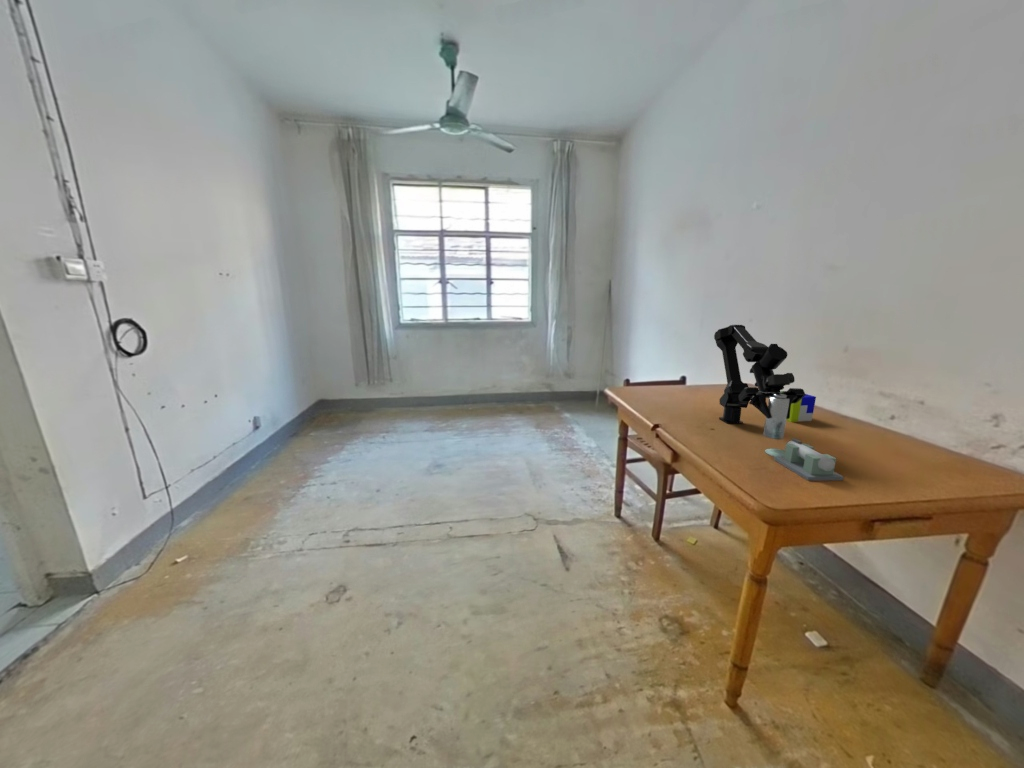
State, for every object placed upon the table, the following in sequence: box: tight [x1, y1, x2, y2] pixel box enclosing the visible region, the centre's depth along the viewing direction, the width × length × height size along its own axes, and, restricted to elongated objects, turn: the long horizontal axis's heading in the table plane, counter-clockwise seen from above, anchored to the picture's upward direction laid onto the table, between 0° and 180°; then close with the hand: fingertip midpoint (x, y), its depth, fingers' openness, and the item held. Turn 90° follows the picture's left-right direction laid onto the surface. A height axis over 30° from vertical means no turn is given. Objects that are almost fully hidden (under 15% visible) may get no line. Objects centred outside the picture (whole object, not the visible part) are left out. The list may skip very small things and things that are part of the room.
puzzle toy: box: [780, 390, 817, 423], centre depth 167 cm, size 10×10×10 cm
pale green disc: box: [764, 448, 785, 458], centre depth 130 cm, size 8×8×1 cm
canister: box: [762, 393, 790, 440], centre depth 132 cm, size 6×6×14 cm
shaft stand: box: [773, 437, 845, 482], centre depth 118 cm, size 14×10×7 cm
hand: (778, 418), depth 131 cm, fingers closed on canister, 5 cm apart
